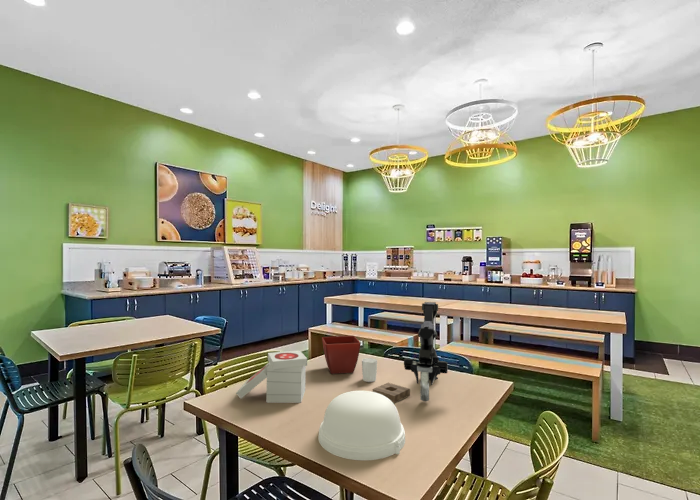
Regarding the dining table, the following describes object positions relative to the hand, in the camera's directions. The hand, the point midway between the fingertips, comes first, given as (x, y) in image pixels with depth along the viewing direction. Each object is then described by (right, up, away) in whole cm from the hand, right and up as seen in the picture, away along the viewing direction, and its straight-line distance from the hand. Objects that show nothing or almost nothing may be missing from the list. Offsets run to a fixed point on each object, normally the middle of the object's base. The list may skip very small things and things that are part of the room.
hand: (424, 383), depth 154 cm
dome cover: (-28, -8, -29) cm, 41 cm away
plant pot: (-37, -10, +46) cm, 60 cm away
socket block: (-13, -9, +9) cm, 18 cm away
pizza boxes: (-66, -8, +7) cm, 67 cm away
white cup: (-22, -9, +30) cm, 39 cm away
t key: (0, -7, +1) cm, 7 cm away
